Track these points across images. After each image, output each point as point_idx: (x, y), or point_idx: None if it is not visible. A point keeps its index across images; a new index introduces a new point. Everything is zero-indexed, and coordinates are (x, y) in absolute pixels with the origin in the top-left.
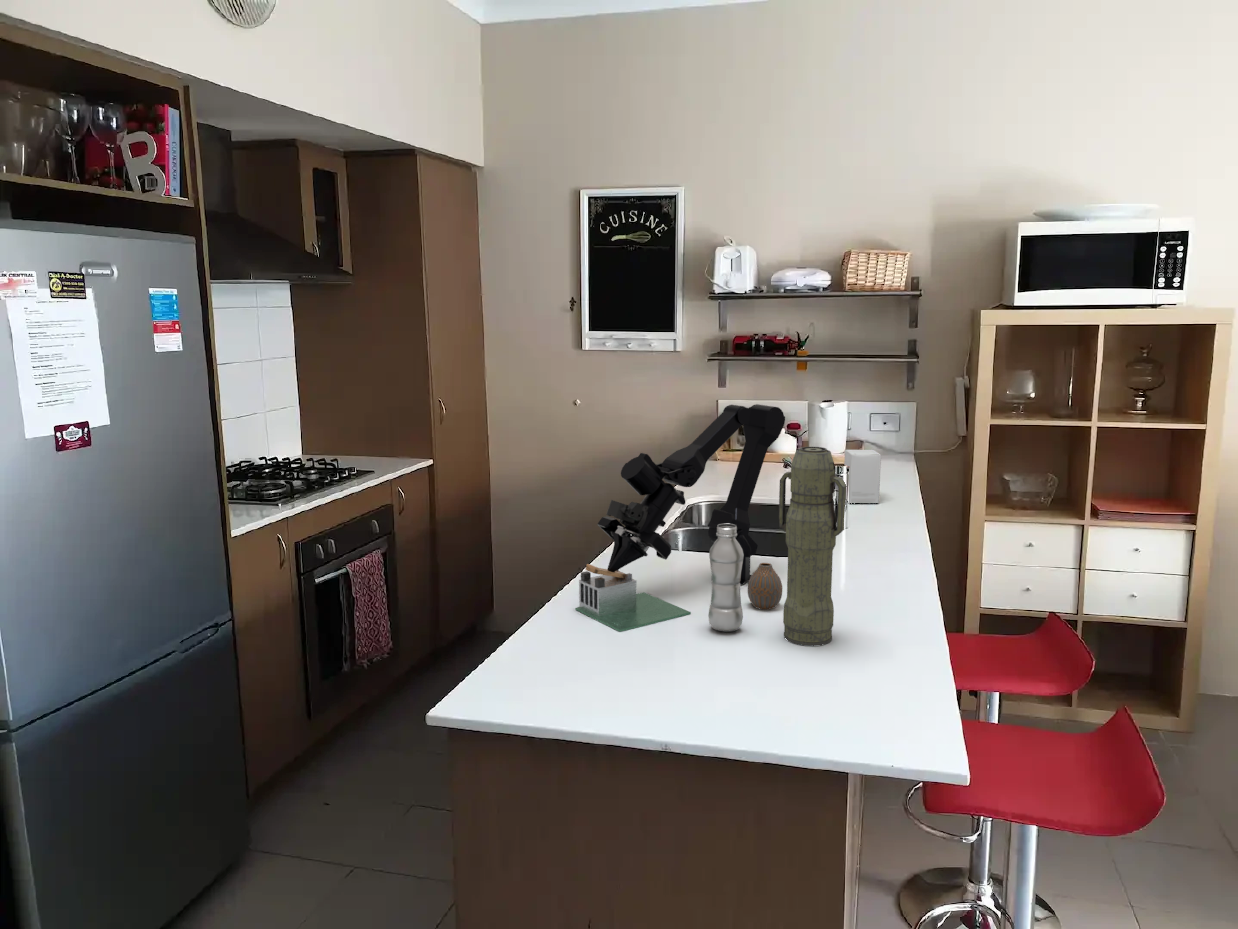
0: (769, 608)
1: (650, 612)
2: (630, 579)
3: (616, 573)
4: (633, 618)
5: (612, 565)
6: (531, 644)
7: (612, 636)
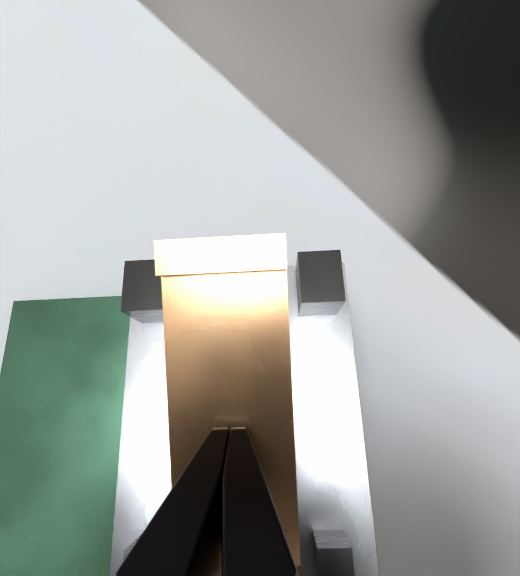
0: None
1: (73, 542)
2: None
3: (171, 464)
4: (68, 420)
5: (195, 459)
6: (126, 57)
7: (9, 262)
